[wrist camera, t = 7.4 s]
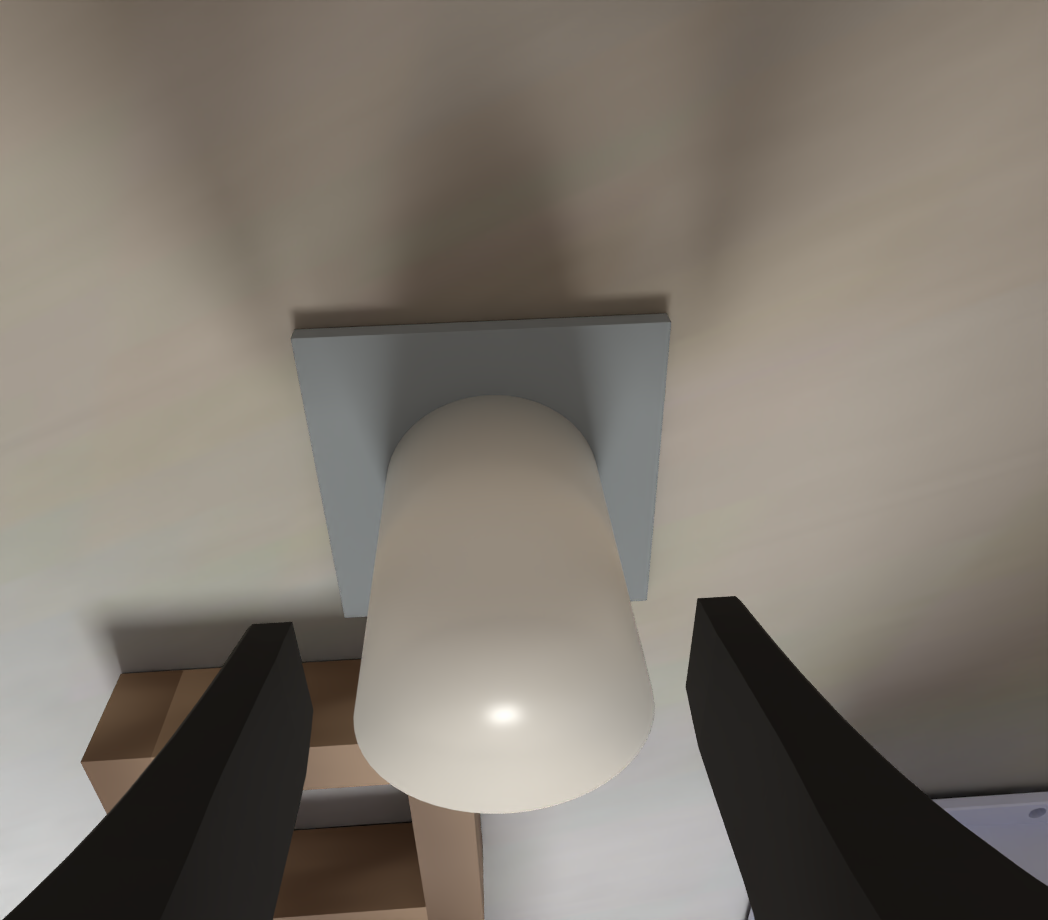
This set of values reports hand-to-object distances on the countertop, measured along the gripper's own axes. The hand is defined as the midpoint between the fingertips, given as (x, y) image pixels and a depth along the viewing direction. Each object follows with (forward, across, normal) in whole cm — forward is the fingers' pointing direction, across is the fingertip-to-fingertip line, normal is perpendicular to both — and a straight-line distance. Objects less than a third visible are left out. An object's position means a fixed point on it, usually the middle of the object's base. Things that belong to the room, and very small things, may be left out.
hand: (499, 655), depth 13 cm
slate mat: (+5, 0, 0) cm, 5 cm away
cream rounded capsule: (+5, 0, 0) cm, 5 cm away
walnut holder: (+5, +5, +10) cm, 12 cm away
